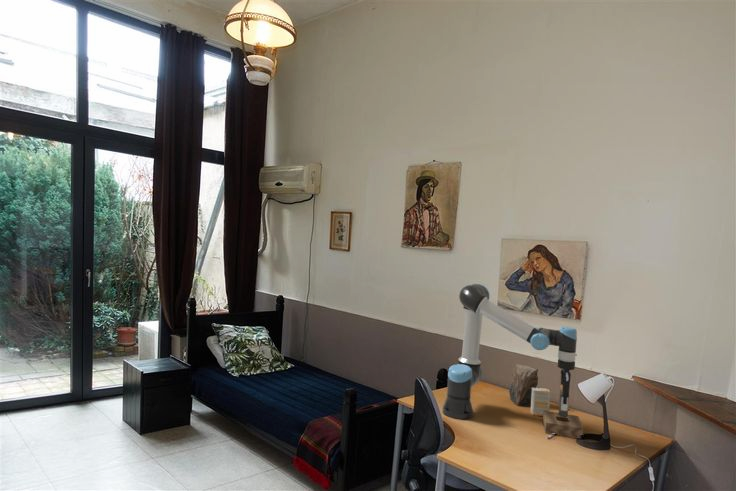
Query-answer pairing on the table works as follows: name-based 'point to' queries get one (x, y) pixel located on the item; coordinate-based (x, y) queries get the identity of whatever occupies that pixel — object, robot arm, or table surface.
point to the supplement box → (540, 401)
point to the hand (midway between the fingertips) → (563, 408)
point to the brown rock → (523, 384)
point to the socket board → (562, 424)
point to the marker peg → (561, 412)
